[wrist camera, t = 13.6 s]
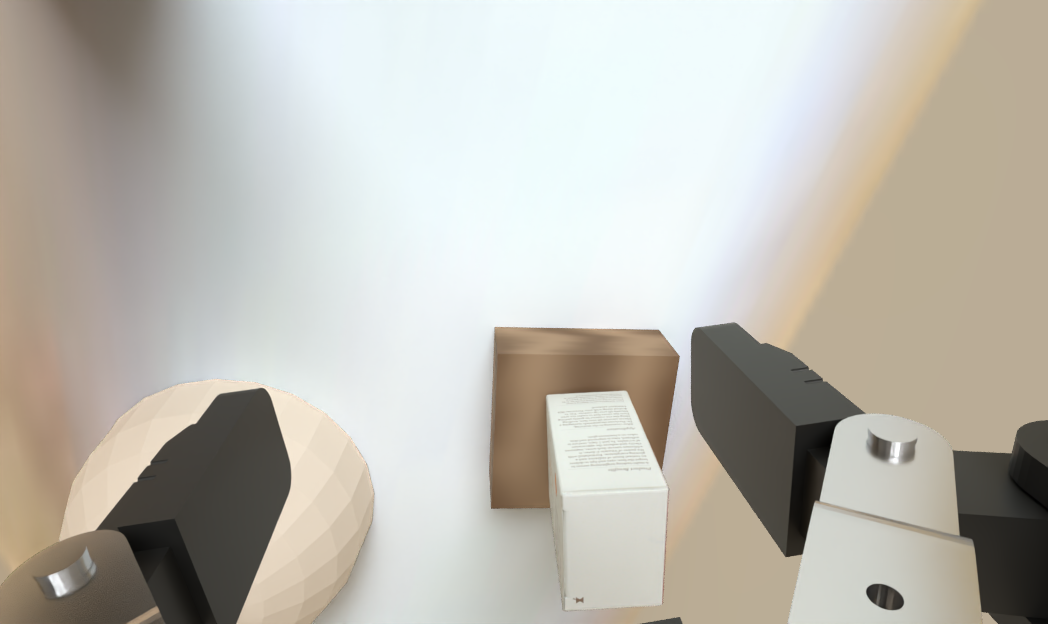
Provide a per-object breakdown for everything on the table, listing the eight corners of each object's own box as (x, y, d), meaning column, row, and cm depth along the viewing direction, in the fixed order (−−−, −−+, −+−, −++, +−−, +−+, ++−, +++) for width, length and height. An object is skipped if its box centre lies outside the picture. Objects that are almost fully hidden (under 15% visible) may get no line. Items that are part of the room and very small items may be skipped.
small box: (625, 487, 42) (664, 610, 32) (546, 491, 42) (562, 616, 32) (628, 387, 39) (673, 488, 29) (544, 391, 39) (560, 494, 29)
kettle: (399, 404, 44) (356, 599, 27) (349, 614, 50) (289, 878, 34) (103, 344, 40) (-158, 526, 24) (90, 579, 47) (-122, 853, 30)
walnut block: (489, 466, 47) (491, 508, 42) (494, 325, 43) (497, 353, 38) (638, 466, 48) (656, 506, 43) (657, 328, 44) (679, 356, 39)
